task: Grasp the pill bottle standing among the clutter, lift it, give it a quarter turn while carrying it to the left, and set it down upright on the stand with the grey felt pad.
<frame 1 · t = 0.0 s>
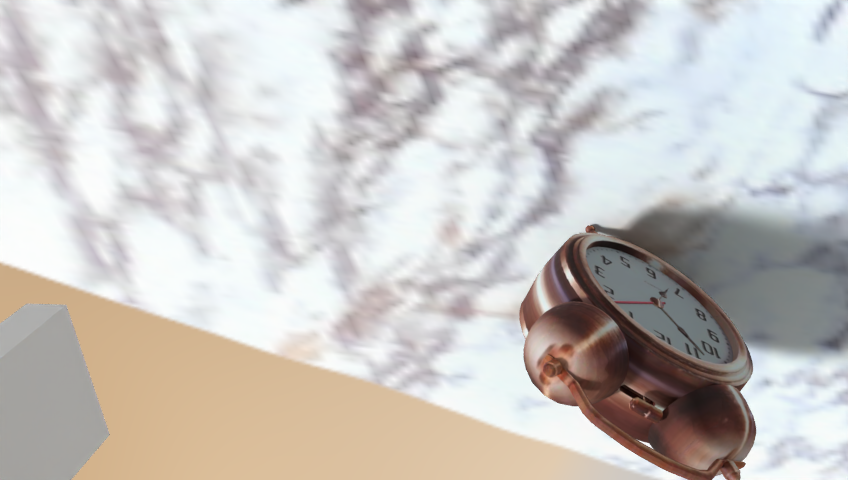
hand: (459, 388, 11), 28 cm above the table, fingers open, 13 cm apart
alarm clock: (622, 272, 41), on the table
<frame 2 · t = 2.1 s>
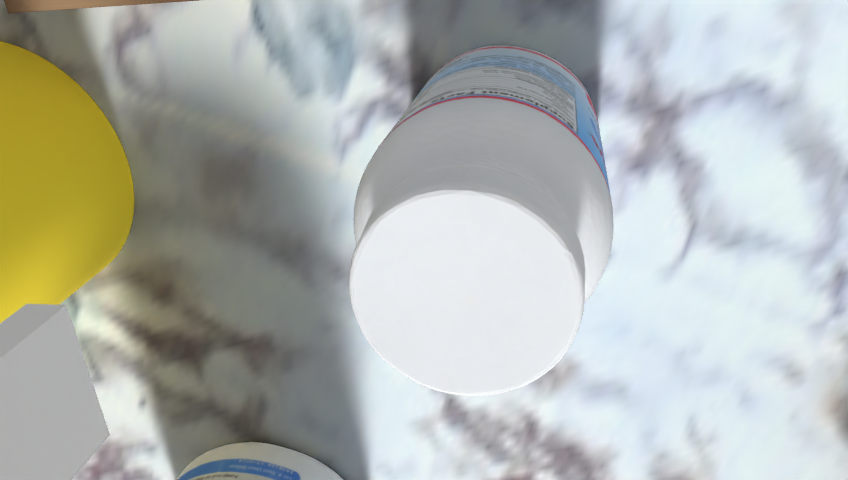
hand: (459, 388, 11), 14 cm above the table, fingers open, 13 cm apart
yellow toilet paper roll: (16, 168, 28), on the table
pill bottle: (504, 130, 24), on the table
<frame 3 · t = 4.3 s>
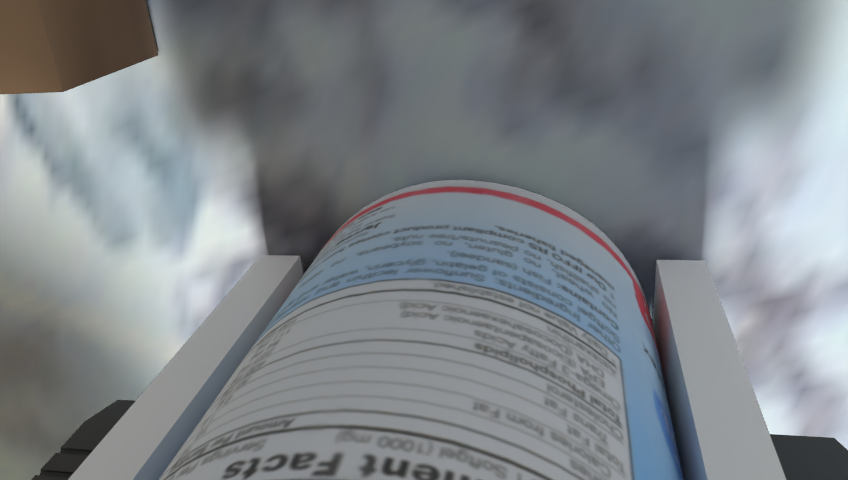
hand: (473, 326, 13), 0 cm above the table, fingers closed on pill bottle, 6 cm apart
pill bottle: (476, 316, 13), on the table, touching gripper
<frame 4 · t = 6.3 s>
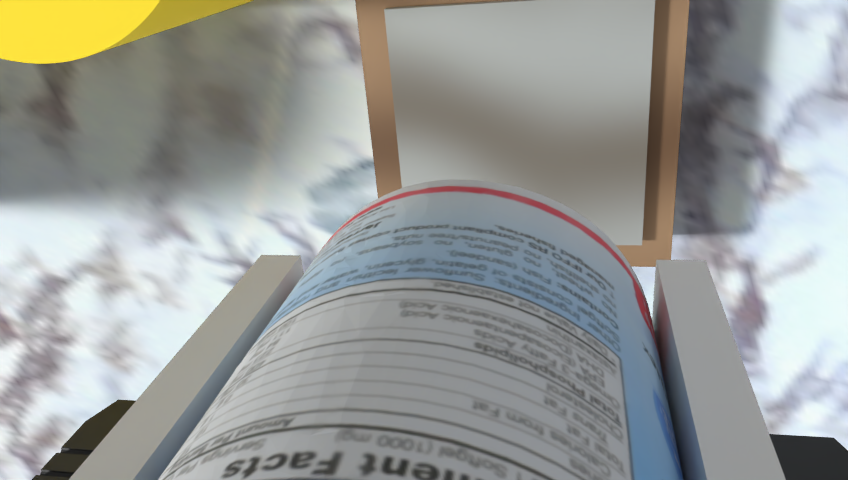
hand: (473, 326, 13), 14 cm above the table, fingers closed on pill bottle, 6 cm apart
stand: (523, 108, 25), on the table
pill bottle: (476, 316, 13), point 14 cm above the table, touching gripper
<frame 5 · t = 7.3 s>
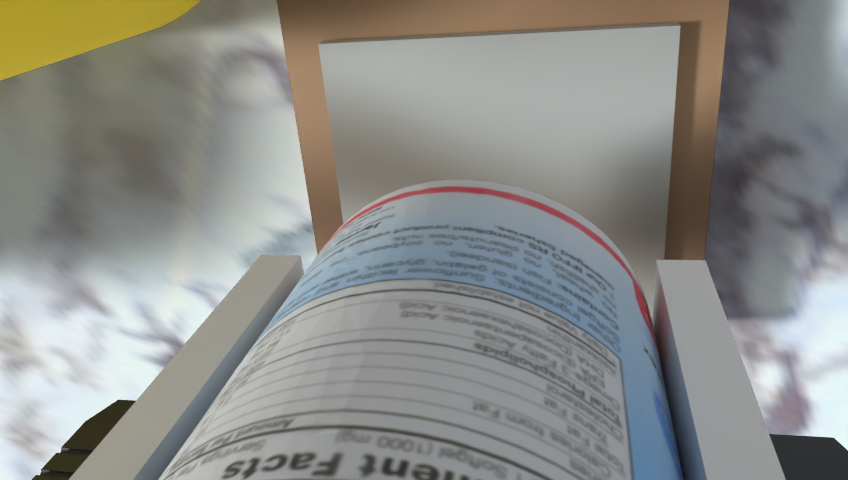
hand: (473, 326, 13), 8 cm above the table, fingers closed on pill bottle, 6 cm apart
stand: (506, 162, 20), on the table
pill bottle: (476, 316, 13), point 8 cm above the table, touching gripper
when the fingers open (4 cm above the table, at t = 8.4 s): pill bottle drops 1 cm, resting on stand.
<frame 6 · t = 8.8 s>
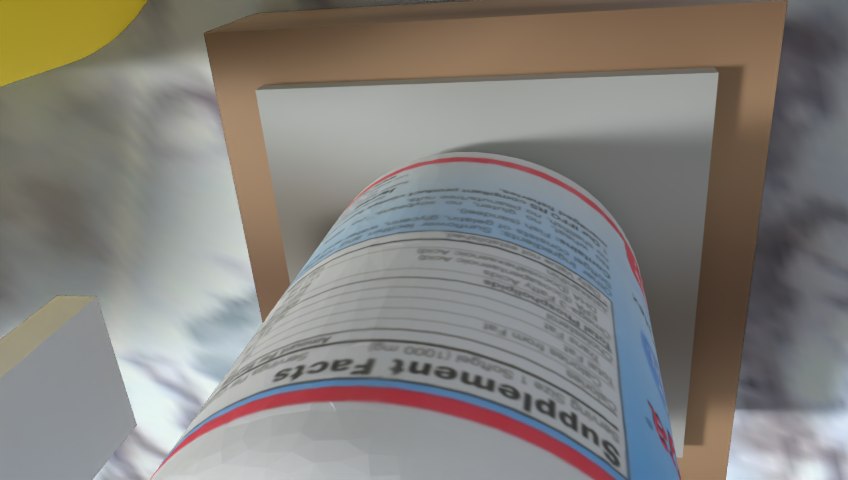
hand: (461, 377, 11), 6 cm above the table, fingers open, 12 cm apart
stand: (496, 224, 17), on the table
pill bottle: (481, 281, 14), point 3 cm above the table, touching stand
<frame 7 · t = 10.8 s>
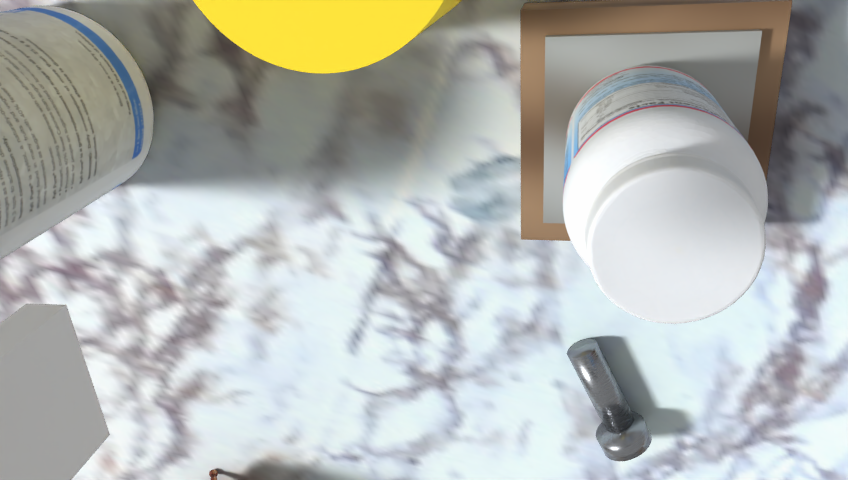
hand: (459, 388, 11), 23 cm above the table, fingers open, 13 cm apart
loose bolt: (601, 377, 38), on the table
stand: (638, 116, 32), on the table
supplement tub: (79, 100, 37), on the table
pill bottle: (642, 134, 29), point 3 cm above the table, touching stand
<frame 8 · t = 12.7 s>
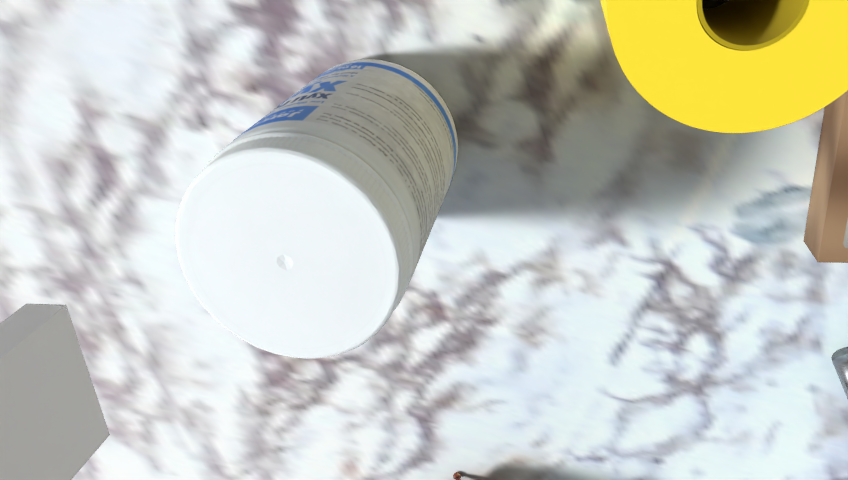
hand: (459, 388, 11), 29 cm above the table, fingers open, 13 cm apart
supplement tub: (377, 141, 41), on the table
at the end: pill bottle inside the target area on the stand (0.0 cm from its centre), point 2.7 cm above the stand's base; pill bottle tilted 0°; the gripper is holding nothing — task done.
